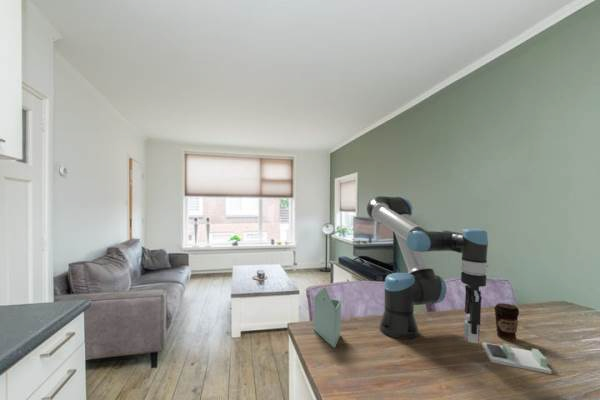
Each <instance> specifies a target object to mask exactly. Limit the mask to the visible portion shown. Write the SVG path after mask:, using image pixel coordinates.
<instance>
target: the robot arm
mask: <svg viewBox="0 0 600 400" xmlns="http://www.w3.org/2000/svg"><path fill="white" fill-rule="evenodd" d="M366 212H367V215H368V217H370V219H372V220H373V221H374V222H376V223H377V222H378V223H381V224H383V225H384V226H385V227H387V228H388V229H390V230H391V231H392V232H394V235H395V237H396V240H397V243H398V246H399V249H400V251H401V254H402V256H403V259H404V264H405V265H406V268H407V271H408V272H393V273H389V274H387V275H386V277H385V279H384V285H383V287H384V309H383V313H382V316H381V318H380V320H379V321H380V322H379V330H380V331H381V332H382V333H383V334H384V335H386V336H389V337H390V338H395V339H398V340H399V339H400V340H412V339H416V338H417V337H418V336H419V327H418V325H417V324H418V323H417V321H416V317H415V312H414V311H415V310H414V309H415V306H420V305H421V306H422V305H435V304H439V303H441V302H443V301H444V300H445V299H446V295H447V289H448V288H447V284H446V282H445V280H444V279H443V277H441V276H440V275H438V274H437V275H436V274H435V270H434V268H432V267H430V266H428V264H427V260H426V257H424V256H425V255H424V253H425V252H454V253H459V254H461V265H460V266H461V268H460V269H461V270H462V271H461V272H460V276H461V278H460V282H461V283H462V284H465V286H464V288H465V294H464V295H465V298H464V299H465V300H464V312H465V315H466V314H470V321H467V323H469V332H468V341H467V342H468V343H473V344H478V343H479V342H478V325H480V326H481V314H482V308H481V307H482V299H483V297H482V296H481V295H482V292H481V290H480V287H481V288H482V287H486V286H487V275H486V274H487V268H489V264H487V263H488V259H487V258H488V257H487V256H488V247H489V246H488V245H489V241H488V239H489V238H488V231H486V230H485V229H481V228H479V229H477V228H463V230H462V232H458V231H457V232H456V231H451V230H439V231H433V230H432V231H429V230H426V229H424V228H423V227H422V226H419V225H417V224H416V223H414V222H412V221H411V219H412V214H413V206H412V203H411V201H410V200H409V199H408V198H405V197H402V196H383V195H379V196H375V197H373V198H371V199H370V200H369V201H368V203H367V204H366Z"/></svg>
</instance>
